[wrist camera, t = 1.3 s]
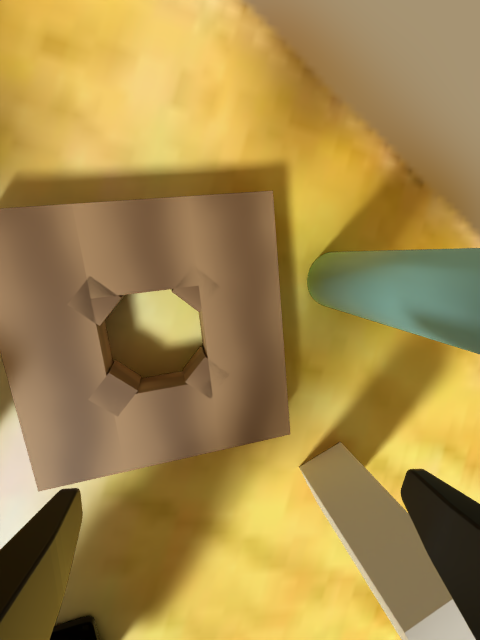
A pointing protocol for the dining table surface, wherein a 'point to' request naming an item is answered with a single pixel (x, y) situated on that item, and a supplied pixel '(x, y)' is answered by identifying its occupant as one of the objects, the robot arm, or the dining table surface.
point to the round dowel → (406, 290)
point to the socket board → (93, 344)
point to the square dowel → (384, 547)
